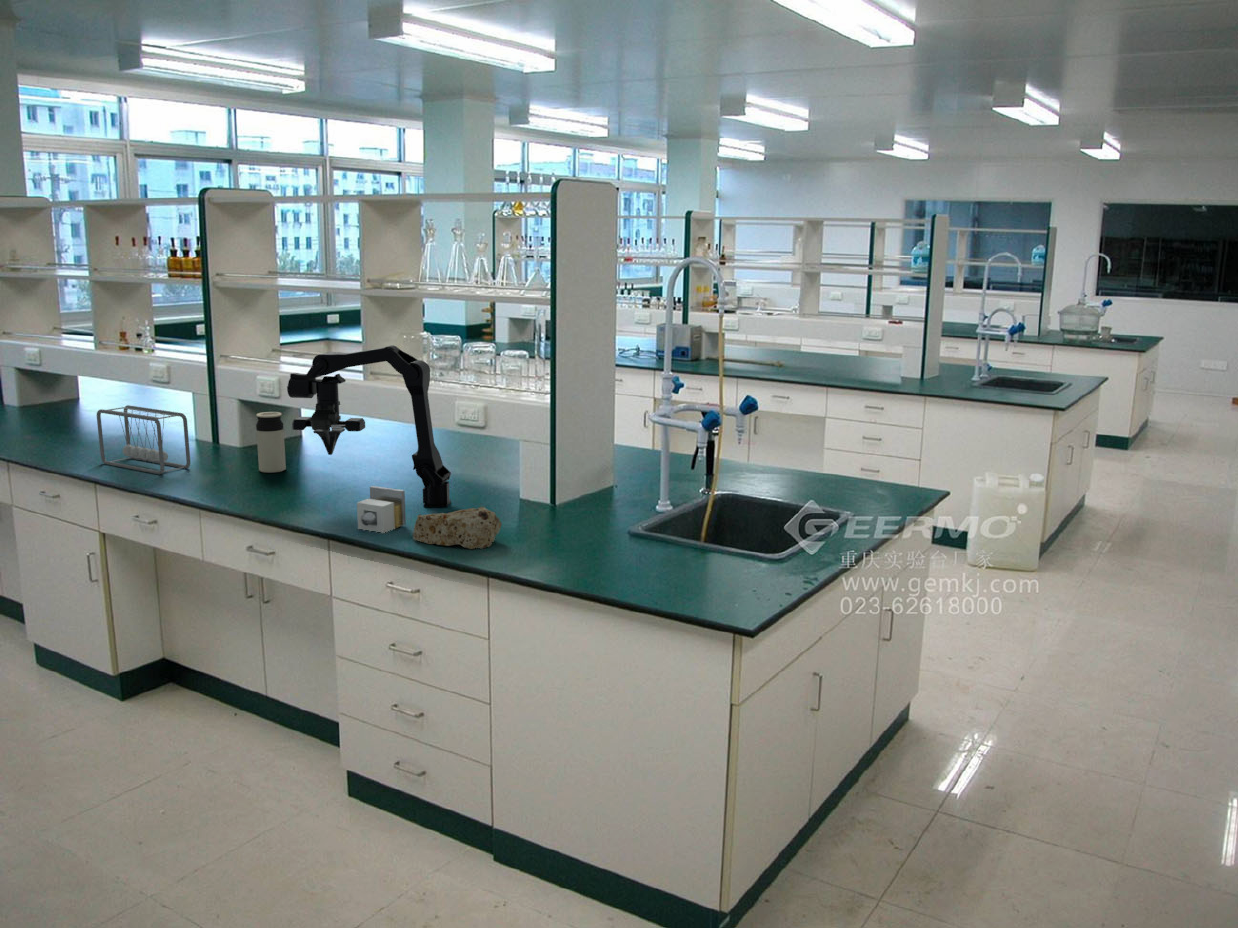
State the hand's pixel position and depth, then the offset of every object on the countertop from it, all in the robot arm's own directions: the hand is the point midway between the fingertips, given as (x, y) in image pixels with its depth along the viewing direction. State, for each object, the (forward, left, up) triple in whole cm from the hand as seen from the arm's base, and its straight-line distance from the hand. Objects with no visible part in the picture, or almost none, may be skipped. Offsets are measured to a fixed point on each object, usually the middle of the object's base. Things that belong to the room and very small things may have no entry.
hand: (330, 454), depth 276 cm
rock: (-43, +33, -14) cm, 56 cm away
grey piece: (-20, +26, -13) cm, 35 cm away
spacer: (-21, +24, -13) cm, 34 cm away
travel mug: (+30, -33, -13) cm, 47 cm away
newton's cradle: (+71, -34, -13) cm, 80 cm away
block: (-20, +27, -13) cm, 36 cm away
